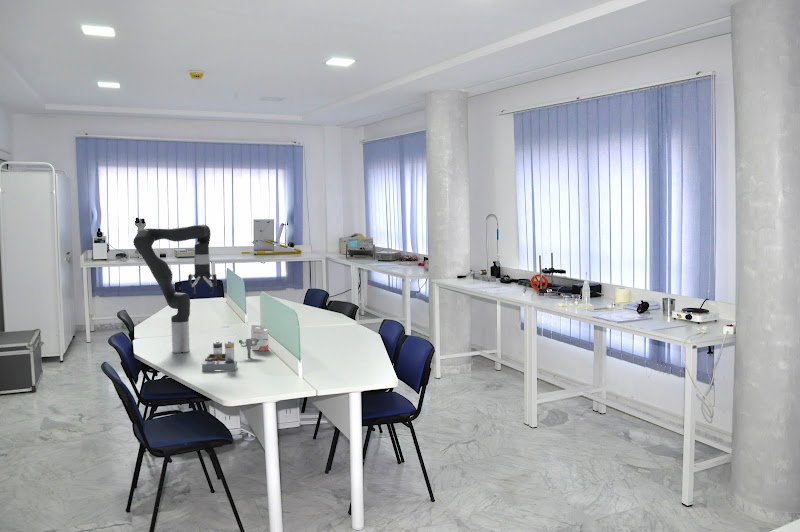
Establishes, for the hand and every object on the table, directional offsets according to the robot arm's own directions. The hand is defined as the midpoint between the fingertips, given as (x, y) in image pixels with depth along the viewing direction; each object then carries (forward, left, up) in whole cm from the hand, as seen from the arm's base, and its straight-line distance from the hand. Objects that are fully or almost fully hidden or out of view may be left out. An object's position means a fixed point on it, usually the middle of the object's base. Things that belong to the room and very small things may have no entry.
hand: (202, 293), depth 333 cm
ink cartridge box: (-25, +26, -36) cm, 51 cm away
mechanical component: (-8, +22, -36) cm, 43 cm away
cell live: (+17, +15, -33) cm, 40 cm away
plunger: (+17, +6, -36) cm, 40 cm away
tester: (+17, +10, -36) cm, 41 cm away
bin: (+3, +7, -36) cm, 37 cm away
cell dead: (+3, +7, -36) cm, 36 cm away
